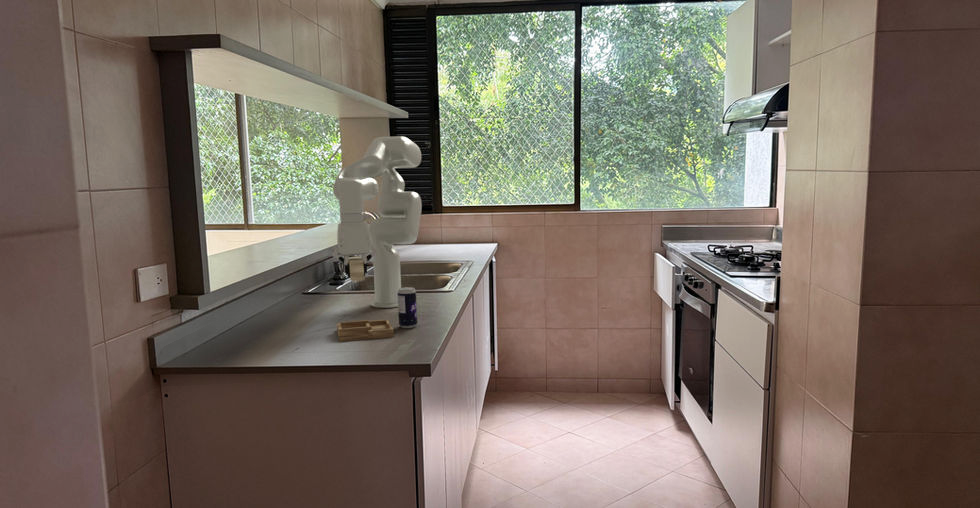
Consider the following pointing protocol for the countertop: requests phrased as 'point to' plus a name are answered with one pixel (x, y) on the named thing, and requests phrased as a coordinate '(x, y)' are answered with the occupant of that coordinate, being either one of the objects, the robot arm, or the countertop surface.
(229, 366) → the countertop surface
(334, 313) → the countertop surface
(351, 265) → the wing block
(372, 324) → the jig
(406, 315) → the beverage can
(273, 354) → the countertop surface
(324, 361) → the countertop surface
